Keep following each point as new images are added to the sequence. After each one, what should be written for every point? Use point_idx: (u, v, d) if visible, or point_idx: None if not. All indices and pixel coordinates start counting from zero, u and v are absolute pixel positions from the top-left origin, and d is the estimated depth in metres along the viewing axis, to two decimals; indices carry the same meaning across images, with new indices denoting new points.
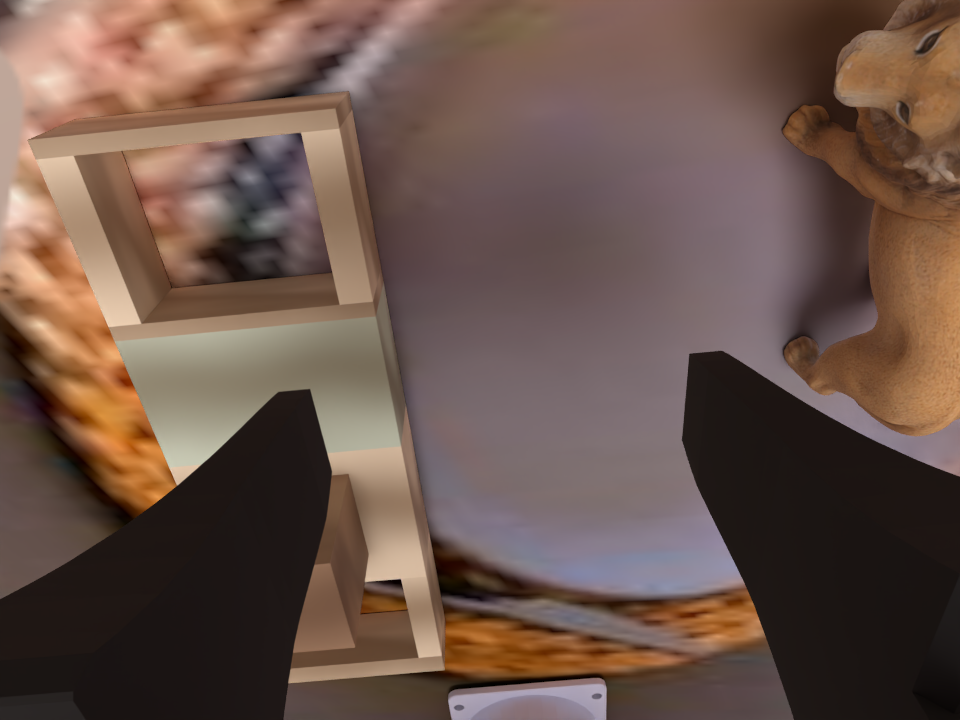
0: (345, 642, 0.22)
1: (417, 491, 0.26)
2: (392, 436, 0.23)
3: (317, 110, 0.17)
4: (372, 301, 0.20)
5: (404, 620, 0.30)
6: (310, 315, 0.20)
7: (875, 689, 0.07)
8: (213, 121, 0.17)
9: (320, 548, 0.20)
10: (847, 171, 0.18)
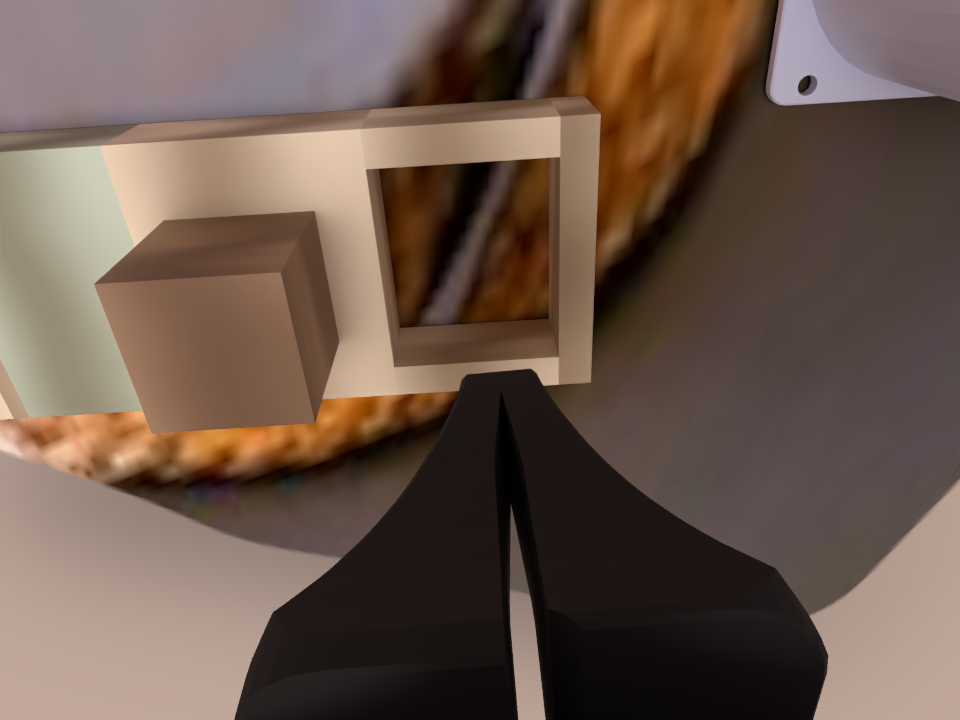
0: (268, 285, 0.14)
1: (255, 123, 0.18)
2: (84, 155, 0.17)
3: None
4: None
5: (550, 165, 0.19)
6: None
7: (551, 715, 0.07)
8: None
9: None
10: None
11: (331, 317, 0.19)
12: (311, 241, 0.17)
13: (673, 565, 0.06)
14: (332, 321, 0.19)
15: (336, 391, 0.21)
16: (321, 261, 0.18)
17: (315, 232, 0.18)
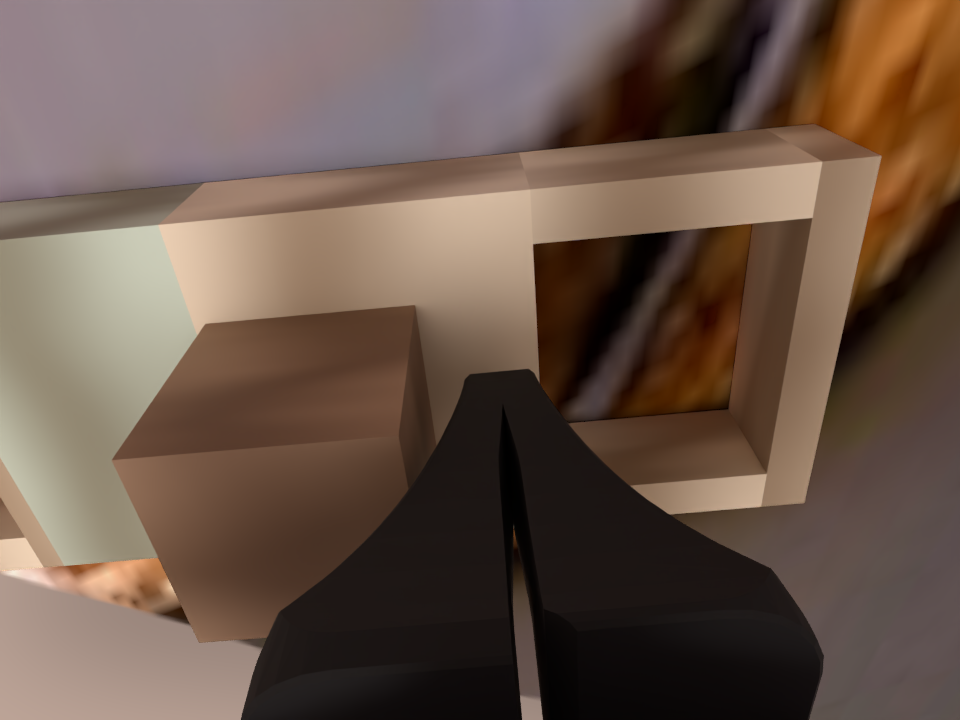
0: (378, 453, 0.09)
1: (367, 180, 0.13)
2: (136, 238, 0.12)
3: None
4: None
5: None
6: None
7: (548, 716, 0.07)
8: None
9: None
10: None
11: (433, 442, 0.14)
12: (416, 353, 0.12)
13: (670, 565, 0.06)
14: (434, 447, 0.14)
15: None
16: (423, 372, 0.13)
17: (417, 336, 0.12)
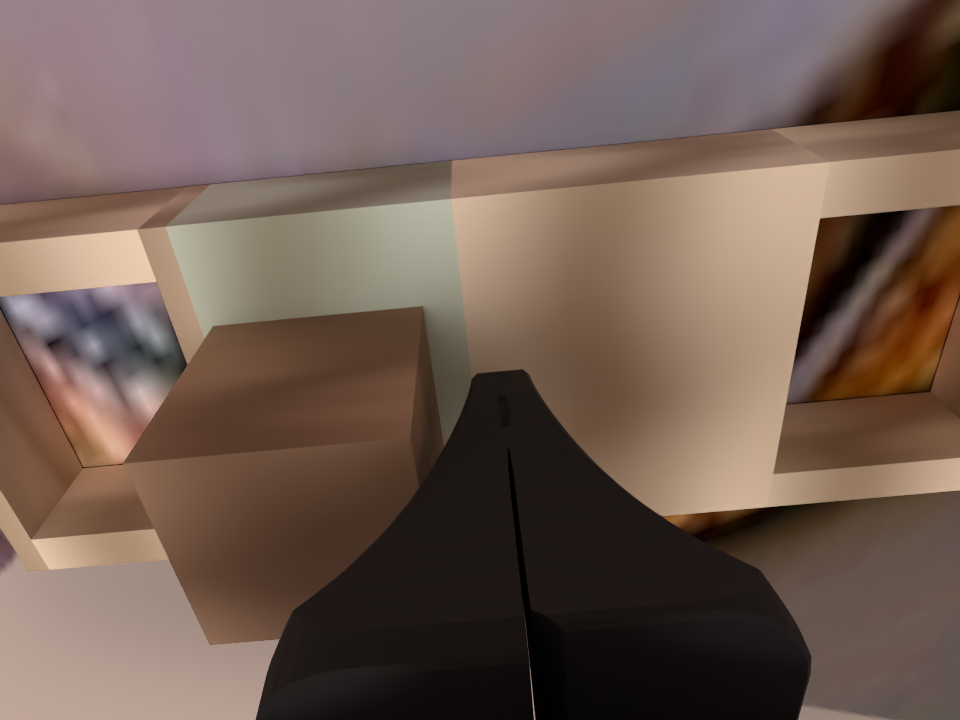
0: (389, 455, 0.09)
1: (632, 155, 0.13)
2: (427, 213, 0.12)
3: None
4: (137, 229, 0.12)
5: None
6: (188, 324, 0.13)
7: (538, 716, 0.07)
8: None
9: None
10: None
11: (441, 443, 0.14)
12: (424, 354, 0.12)
13: (658, 566, 0.06)
14: (442, 447, 0.14)
15: (687, 505, 0.15)
16: (431, 373, 0.13)
17: (425, 337, 0.12)
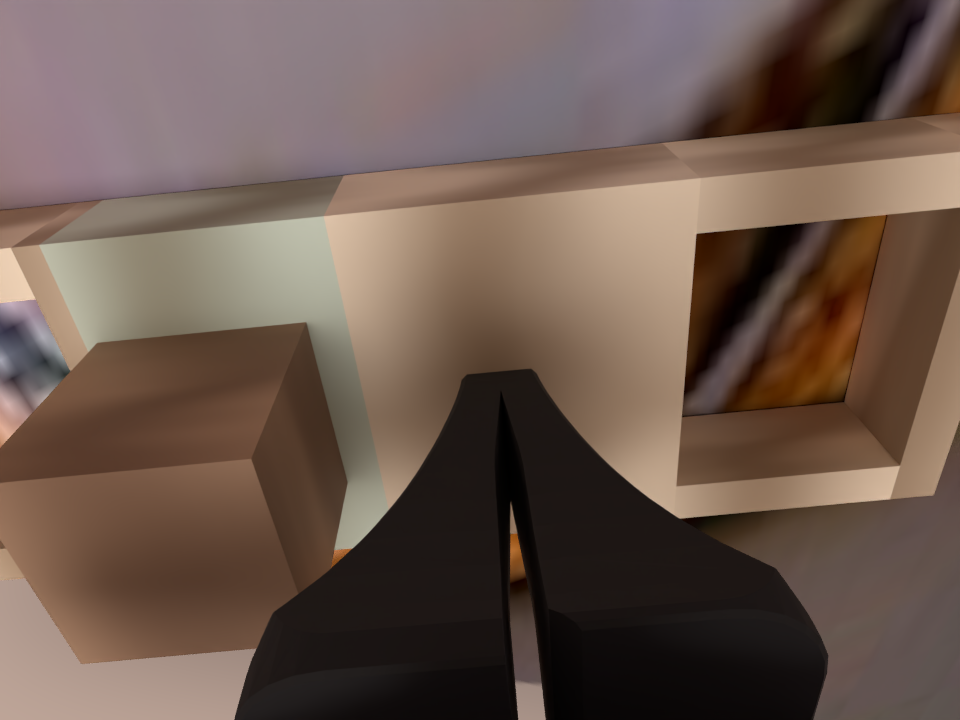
0: (233, 476, 0.09)
1: (517, 171, 0.13)
2: (301, 230, 0.12)
3: None
4: (10, 247, 0.12)
5: None
6: (73, 341, 0.13)
7: (551, 715, 0.07)
8: None
9: None
10: None
11: (335, 458, 0.14)
12: (302, 371, 0.12)
13: (674, 565, 0.06)
14: (337, 462, 0.14)
15: None
16: (318, 388, 0.13)
17: (308, 353, 0.12)
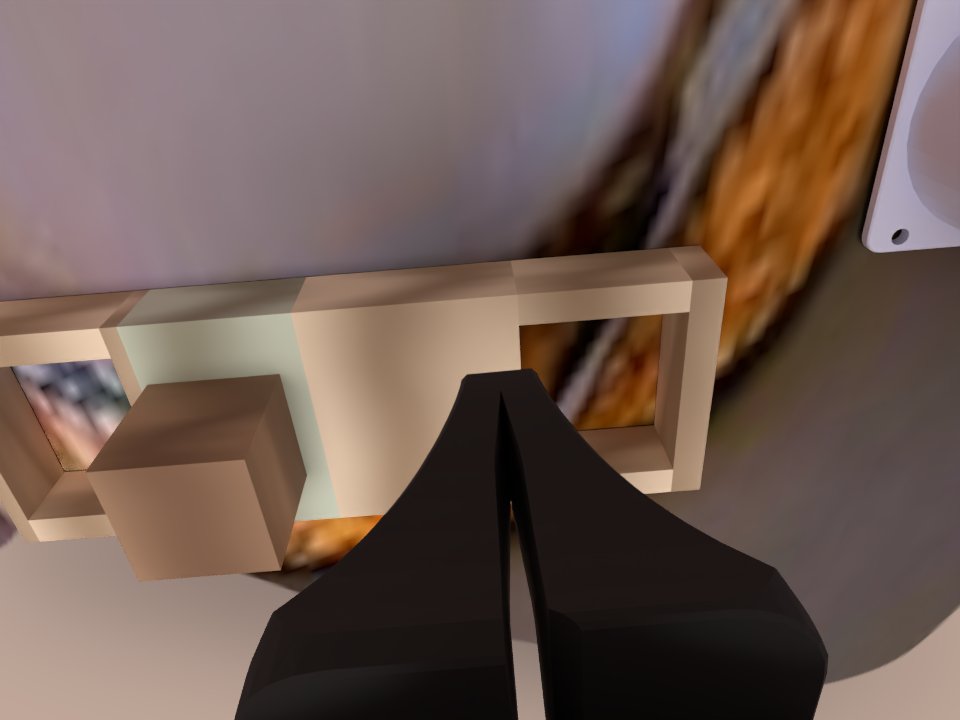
0: (234, 469, 0.17)
1: (414, 280, 0.20)
2: (276, 320, 0.19)
3: None
4: (98, 328, 0.19)
5: None
6: (132, 383, 0.20)
7: (551, 715, 0.07)
8: None
9: None
10: None
11: (298, 459, 0.21)
12: (276, 405, 0.20)
13: (674, 566, 0.06)
14: (299, 462, 0.21)
15: None
16: (287, 415, 0.21)
17: (280, 393, 0.20)
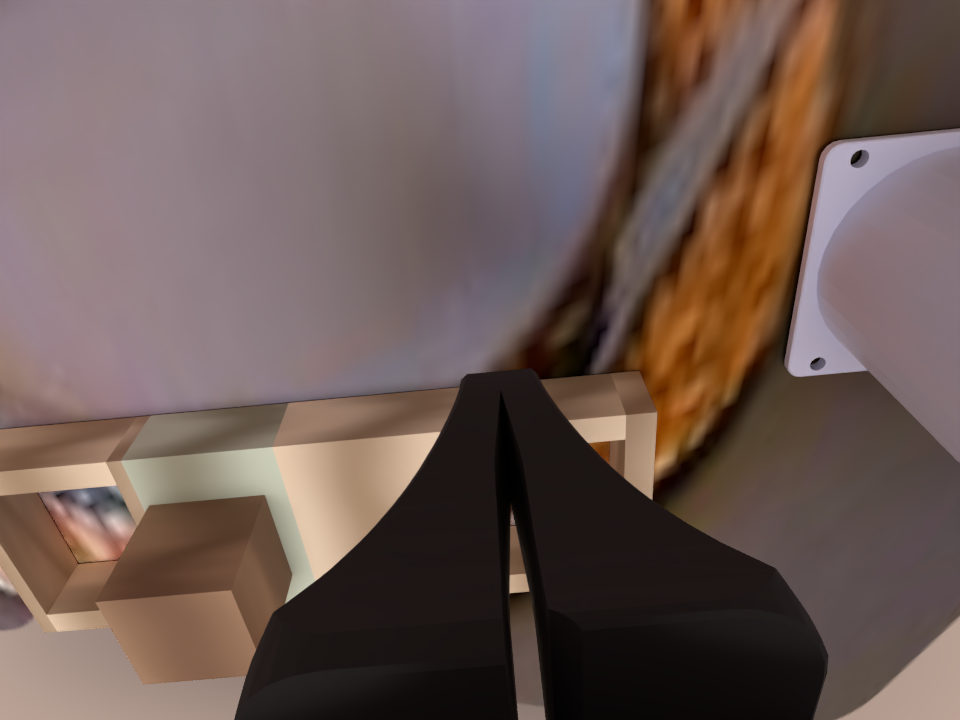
0: (222, 597, 0.20)
1: (383, 409, 0.23)
2: (260, 453, 0.22)
3: None
4: (105, 461, 0.22)
5: None
6: (135, 504, 0.23)
7: (551, 715, 0.07)
8: None
9: None
10: None
11: (283, 564, 0.24)
12: (261, 525, 0.22)
13: (674, 565, 0.06)
14: (284, 566, 0.24)
15: None
16: (272, 529, 0.23)
17: (265, 512, 0.23)
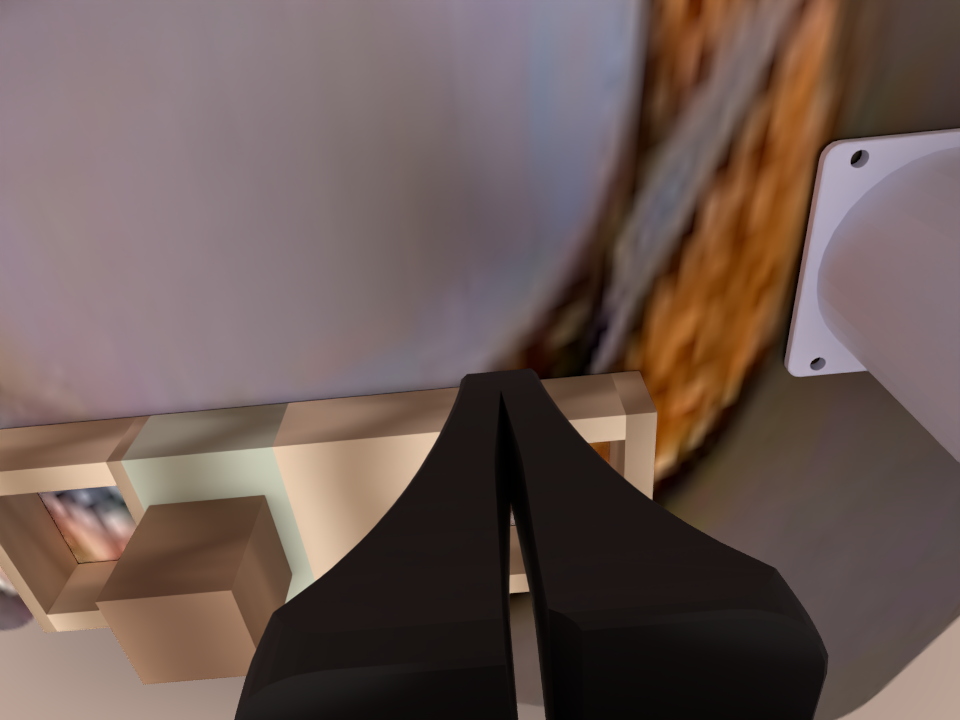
0: (222, 597, 0.20)
1: (383, 409, 0.23)
2: (260, 453, 0.22)
3: None
4: (105, 461, 0.22)
5: None
6: (135, 504, 0.23)
7: (551, 715, 0.07)
8: None
9: None
10: None
11: (283, 564, 0.24)
12: (261, 525, 0.22)
13: (674, 565, 0.06)
14: (284, 566, 0.24)
15: None
16: (272, 529, 0.23)
17: (265, 512, 0.23)
